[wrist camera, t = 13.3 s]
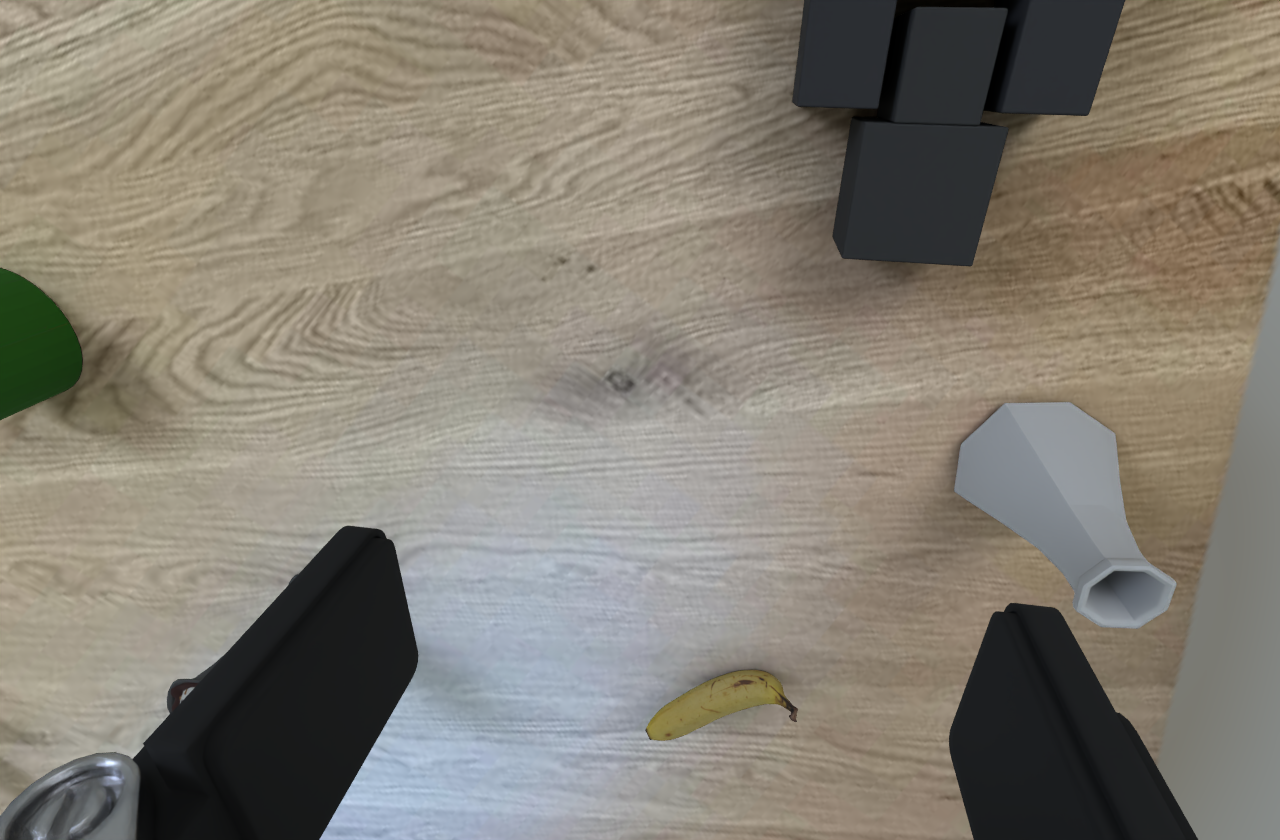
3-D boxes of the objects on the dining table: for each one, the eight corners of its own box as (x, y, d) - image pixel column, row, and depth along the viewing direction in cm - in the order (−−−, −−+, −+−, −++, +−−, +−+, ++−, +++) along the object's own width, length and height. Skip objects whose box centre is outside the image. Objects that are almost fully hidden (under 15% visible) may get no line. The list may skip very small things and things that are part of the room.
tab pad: (947, 243, 29) (972, 266, 25) (832, 237, 30) (841, 258, 26) (1002, 17, 25) (1042, 7, 21) (867, 16, 25) (884, 6, 22)
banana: (661, 700, 46) (653, 751, 42) (648, 677, 45) (638, 727, 41) (801, 678, 43) (804, 732, 39) (789, 653, 42) (792, 705, 38)
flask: (994, 379, 31) (1084, 496, 23) (1141, 420, 31) (1290, 553, 22) (928, 497, 35) (984, 636, 26) (1060, 534, 35) (1161, 687, 26)
